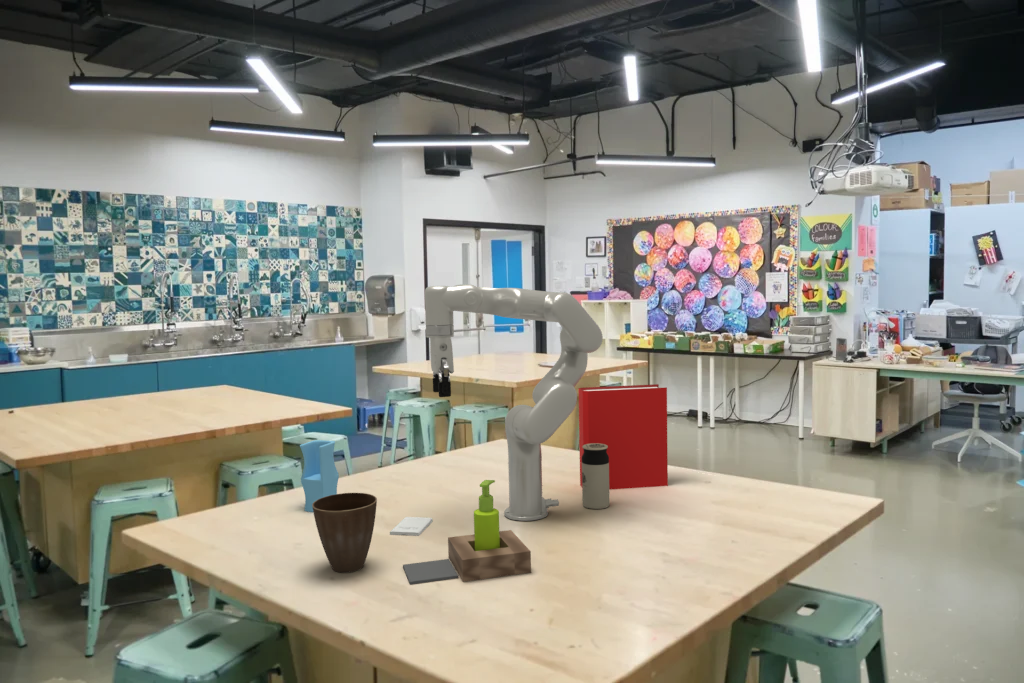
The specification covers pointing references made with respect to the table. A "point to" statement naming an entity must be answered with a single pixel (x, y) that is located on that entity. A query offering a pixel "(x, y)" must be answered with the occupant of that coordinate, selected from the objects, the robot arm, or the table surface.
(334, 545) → the plant pot
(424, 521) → the external hard drive
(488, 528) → the soap dispenser
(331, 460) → the light blue angular piece
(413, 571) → the rubber mat
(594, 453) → the travel mug
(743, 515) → the table surface
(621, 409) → the book
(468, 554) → the socket block
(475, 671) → the table surface
